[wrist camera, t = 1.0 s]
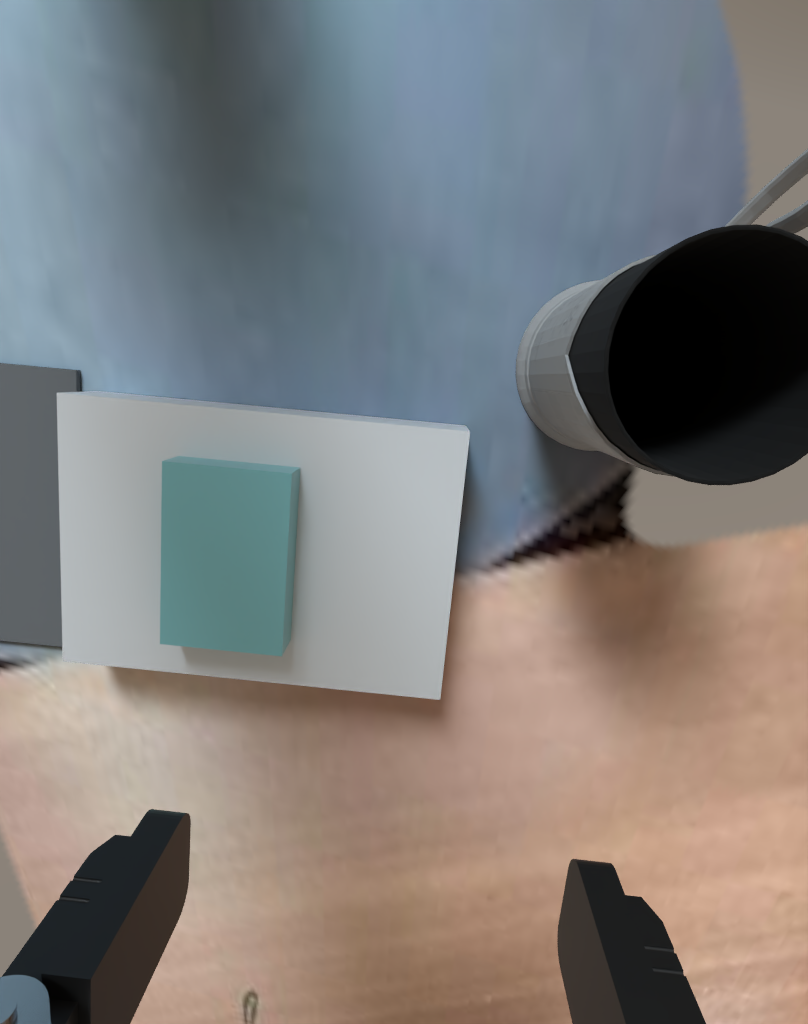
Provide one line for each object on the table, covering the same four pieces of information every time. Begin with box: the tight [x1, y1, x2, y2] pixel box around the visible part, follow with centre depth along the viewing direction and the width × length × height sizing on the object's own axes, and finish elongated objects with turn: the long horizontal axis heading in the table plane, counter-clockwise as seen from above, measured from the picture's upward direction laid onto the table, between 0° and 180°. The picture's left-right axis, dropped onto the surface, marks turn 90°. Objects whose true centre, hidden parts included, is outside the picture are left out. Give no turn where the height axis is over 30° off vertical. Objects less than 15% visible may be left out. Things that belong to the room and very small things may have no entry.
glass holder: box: [516, 149, 808, 485], centre depth 26 cm, size 9×14×15 cm, turn 145°
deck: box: [57, 391, 470, 700], centre depth 34 cm, size 14×20×4 cm
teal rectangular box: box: [160, 456, 300, 656], centre depth 31 cm, size 9×6×2 cm, turn 175°
